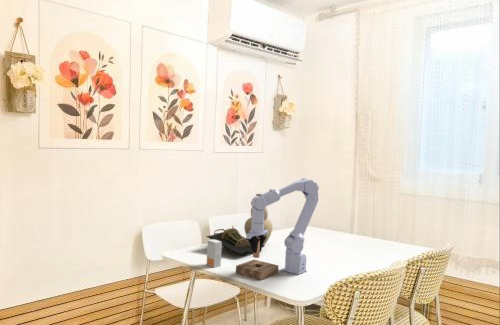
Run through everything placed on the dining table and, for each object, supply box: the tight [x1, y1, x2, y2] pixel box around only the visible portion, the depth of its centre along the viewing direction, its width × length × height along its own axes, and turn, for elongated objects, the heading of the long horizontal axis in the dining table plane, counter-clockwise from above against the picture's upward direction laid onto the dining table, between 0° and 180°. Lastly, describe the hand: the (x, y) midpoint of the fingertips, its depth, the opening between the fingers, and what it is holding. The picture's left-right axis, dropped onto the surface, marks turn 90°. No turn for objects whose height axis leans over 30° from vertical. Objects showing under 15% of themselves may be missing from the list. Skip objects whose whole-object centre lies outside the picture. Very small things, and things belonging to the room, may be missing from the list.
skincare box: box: [206, 239, 223, 268], centre depth 190 cm, size 6×4×12 cm
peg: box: [252, 237, 260, 259], centre depth 183 cm, size 3×3×9 cm
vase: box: [244, 193, 273, 246], centre depth 235 cm, size 17×17×30 cm
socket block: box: [235, 259, 279, 281], centre depth 181 cm, size 14×14×4 cm
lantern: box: [206, 225, 265, 255], centre depth 220 cm, size 14×23×30 cm
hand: (256, 251), depth 183 cm, fingers closed on peg, 3 cm apart
